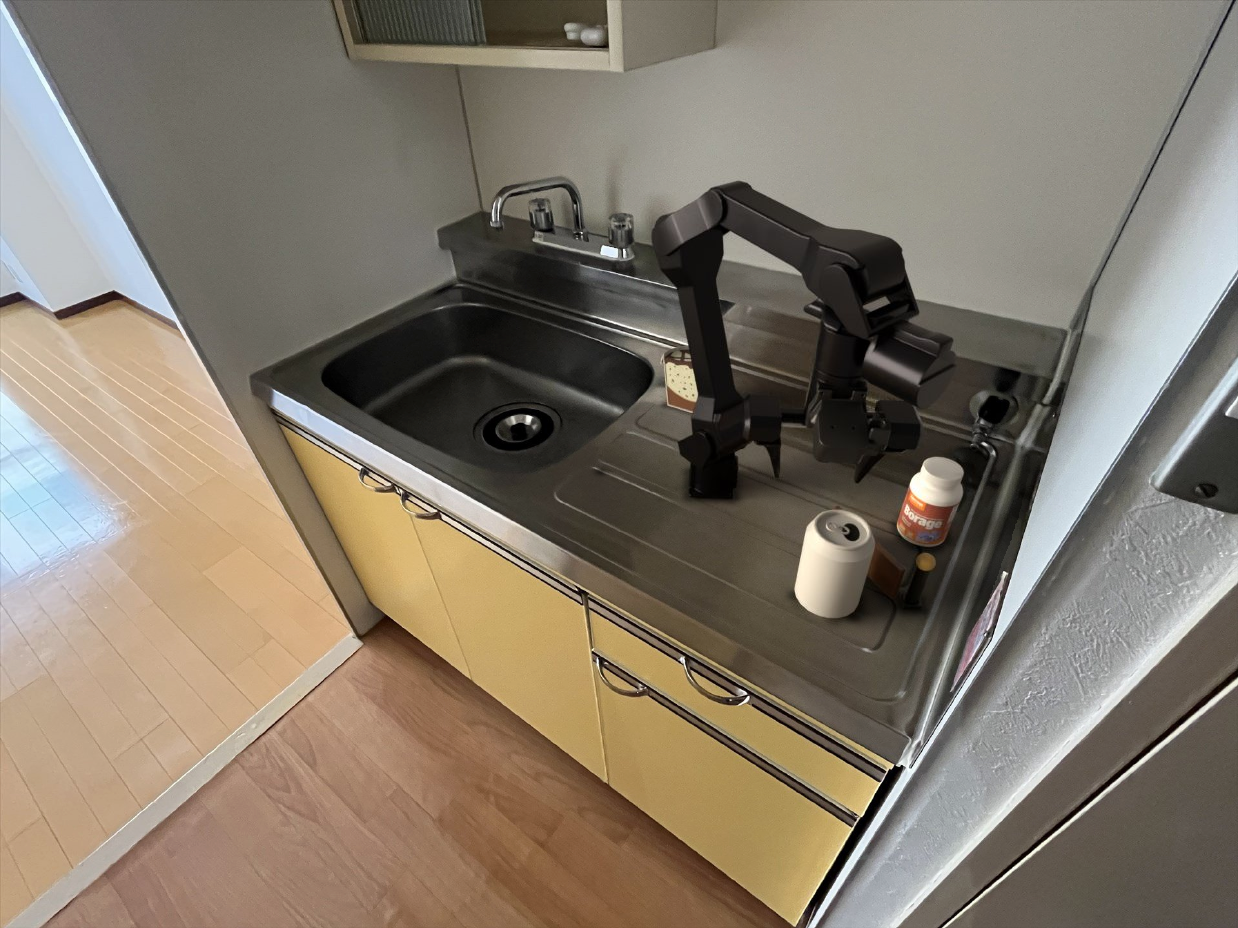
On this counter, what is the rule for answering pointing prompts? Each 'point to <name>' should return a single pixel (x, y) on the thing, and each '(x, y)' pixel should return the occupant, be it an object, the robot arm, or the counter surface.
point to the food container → (679, 379)
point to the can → (834, 563)
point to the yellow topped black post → (918, 582)
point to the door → (884, 570)
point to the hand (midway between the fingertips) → (816, 478)
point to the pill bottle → (931, 502)
